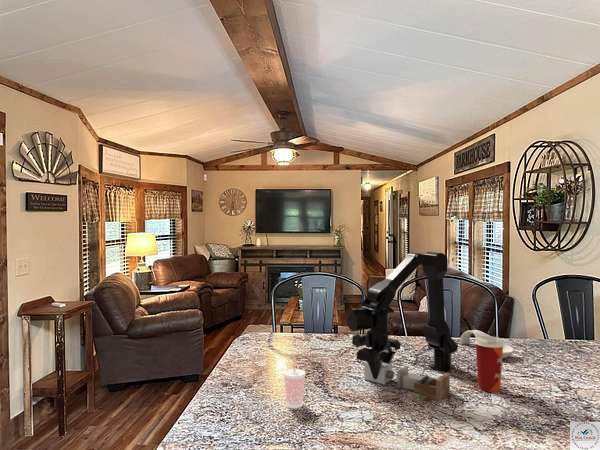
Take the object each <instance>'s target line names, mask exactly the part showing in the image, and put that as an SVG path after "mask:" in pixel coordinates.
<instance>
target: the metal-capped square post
mask: <svg viewBox="0 0 600 450" xmlns="http://www.w3.org/2000/svg"><path fill="white" fill-rule="evenodd" d="M424 376H425V377H424ZM429 377H430V376H429V375H419V374H414V373H410V372H409V367H407V366H404V367H403V368H401V369H399V370H398V371H396V389H401V388H403V389H406V390H411V391H414V383H415V382H419V383H420V384H427V385H432V386H433V378H434V377H431V378H429Z"/></svg>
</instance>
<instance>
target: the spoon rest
mask: <svg viewBox="0 0 600 450" xmlns="http://www.w3.org/2000/svg"><path fill="white" fill-rule="evenodd" d="M473 334H474V337H475V339H476V338H477V337H479V336H490V335H489V334H488V333H485V332H483V331H480V330H477V329H472V330H466V331H464V332H463V333H462V334H461V336H460V338H459V344H460V345H469V344H470V341H471V336H472V335H473ZM503 343H504V342H503ZM514 349H515V348H513V347H512V346H511V345H509V344H507V343H506V342H505V343H504V346H503V355H502V359H506V358H509V357H510V356H511V355H513V354H514V352H515V350H514Z"/></svg>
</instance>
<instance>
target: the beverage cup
mask: <svg viewBox="0 0 600 450" xmlns="http://www.w3.org/2000/svg"><path fill="white" fill-rule="evenodd" d="M292 358H293V368H289V369H286V370H284V371H283V378H284V389H285V390H284V391H285V393H284V394H285V407H287V408H289V409H299V408H301V407H303V405H304V393H305V392H304V390H305V378H306V371H305V370H304V369H302V368H301V369H300V368H296V354H295V353H293V357H292Z"/></svg>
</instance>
